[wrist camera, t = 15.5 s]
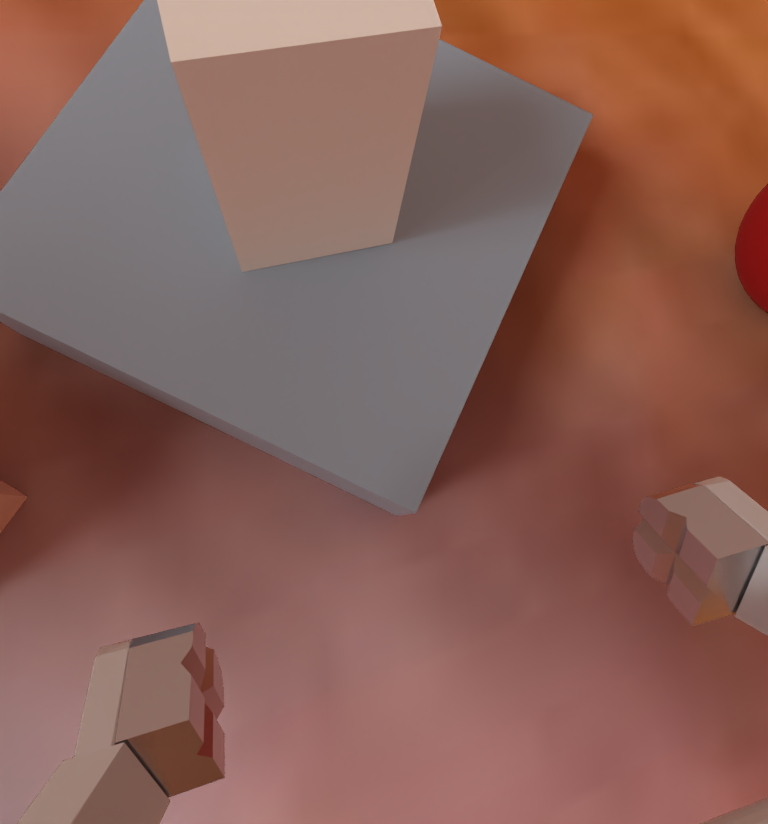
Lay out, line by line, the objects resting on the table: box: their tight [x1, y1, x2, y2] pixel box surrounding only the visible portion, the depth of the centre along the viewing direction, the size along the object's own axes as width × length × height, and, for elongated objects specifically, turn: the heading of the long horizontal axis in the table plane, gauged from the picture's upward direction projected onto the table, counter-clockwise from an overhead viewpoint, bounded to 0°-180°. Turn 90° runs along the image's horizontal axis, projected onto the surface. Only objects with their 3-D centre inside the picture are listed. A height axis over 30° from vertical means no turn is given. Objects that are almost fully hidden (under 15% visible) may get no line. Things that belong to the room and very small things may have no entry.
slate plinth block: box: [0, 0, 593, 516], centre depth 20 cm, size 16×16×5 cm
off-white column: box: [157, 0, 442, 272], centre depth 14 cm, size 5×5×8 cm
